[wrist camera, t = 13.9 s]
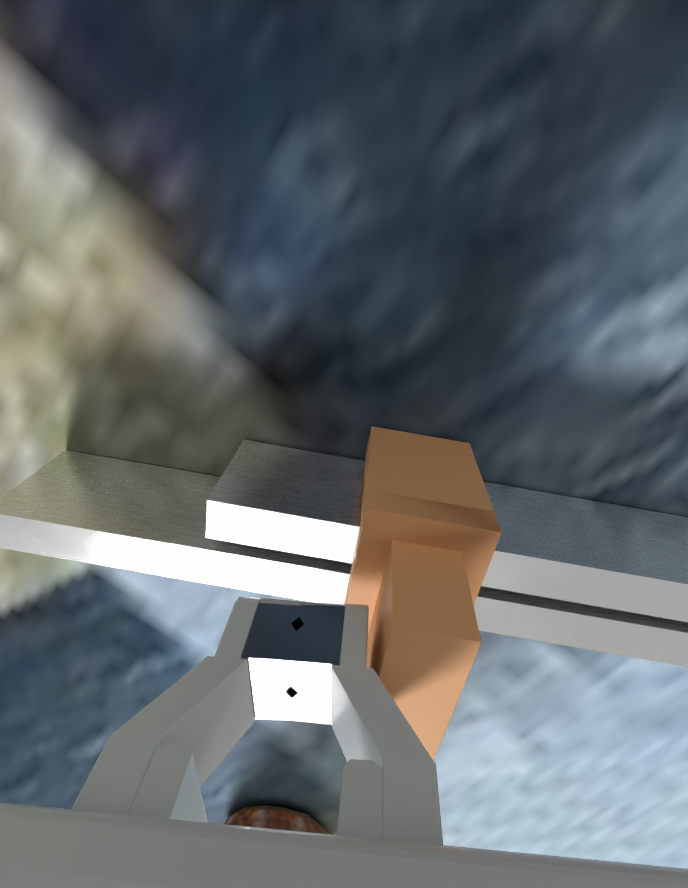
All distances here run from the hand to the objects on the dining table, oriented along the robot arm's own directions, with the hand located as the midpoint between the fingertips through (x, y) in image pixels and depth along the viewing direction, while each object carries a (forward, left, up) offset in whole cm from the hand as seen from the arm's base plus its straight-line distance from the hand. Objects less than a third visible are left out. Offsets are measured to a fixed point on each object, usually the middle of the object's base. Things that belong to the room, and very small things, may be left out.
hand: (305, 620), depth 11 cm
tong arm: (+6, +1, -6) cm, 8 cm away
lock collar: (+2, 0, -6) cm, 6 cm away
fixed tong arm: (+3, -1, -6) cm, 6 cm away
